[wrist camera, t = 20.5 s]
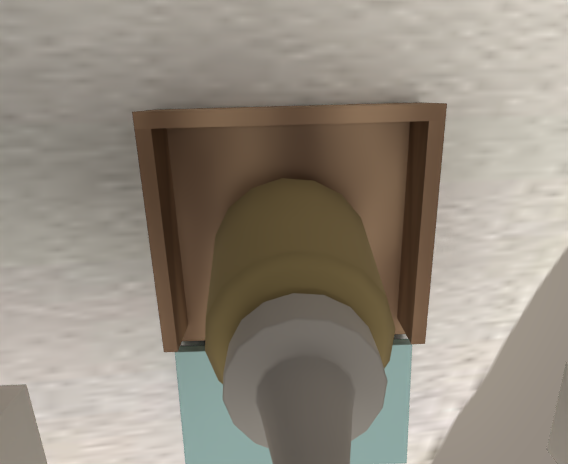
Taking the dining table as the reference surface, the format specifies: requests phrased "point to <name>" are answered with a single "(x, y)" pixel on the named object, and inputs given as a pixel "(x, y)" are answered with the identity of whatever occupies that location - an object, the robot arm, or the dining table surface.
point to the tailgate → (256, 459)
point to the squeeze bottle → (298, 322)
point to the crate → (291, 165)
